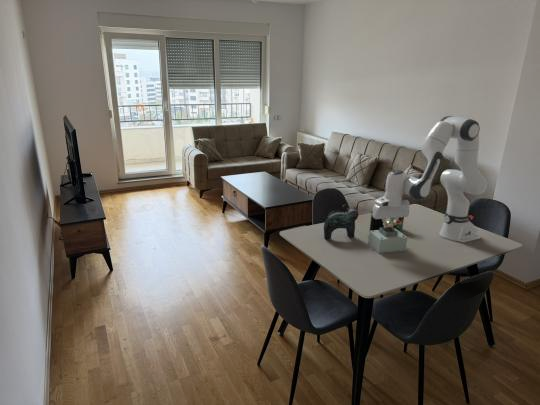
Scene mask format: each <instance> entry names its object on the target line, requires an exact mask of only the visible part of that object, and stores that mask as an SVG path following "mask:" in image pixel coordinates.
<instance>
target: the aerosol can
mask: <svg viewBox="0 0 540 405" xmlns="http://www.w3.org/2000/svg"><path fill="white" fill-rule="evenodd" d="M372 212H373V210H371V211H370V213H371V215H370V216H371V217H370V224H369V231H372V230H379V228H382V227H385V226H384V225H383V221H382V219H375V218H374V217H373V216H372ZM367 238H369V235H368V237H367Z"/></svg>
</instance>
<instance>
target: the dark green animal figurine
mask: <svg viewBox="0 0 540 405" xmlns="http://www.w3.org/2000/svg"><path fill="white" fill-rule="evenodd" d="M344 207H346V208H345V209H346V211H340V210H334V211H331V212H330V213H329V214H328V215H327V217H326V220H325V221H324V224H323V236H324V239H325V240H326V241H327V240H331V239H332V235H333V233H334V232H335V230H338V229H345V230H346V236H347V237H348V238H350V239H351V238H355V233H356V232H355V230H356V220H358V218H359V212H358V210H357V208H356V206H353V208H349V205H348V204H343V205H342V208H344Z"/></svg>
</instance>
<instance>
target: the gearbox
mask: <svg viewBox="0 0 540 405" xmlns="http://www.w3.org/2000/svg"><path fill="white" fill-rule="evenodd" d="M368 236H369V238H368V237H367V238H368V240H367V245H368V246H370V247H371V248H372V249H373V250H374V251H376V253H377V254H387V253H398V252H406V249H407V243H408V236H406V235H405V234H403V233H402V231H400V232H399V231H398V230H397V229H393V228H387V227H386V226H384V227H382V228H379V230H372V231H370V230H369V231H368Z"/></svg>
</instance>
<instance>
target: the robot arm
mask: <svg viewBox="0 0 540 405" xmlns="http://www.w3.org/2000/svg"><path fill="white" fill-rule="evenodd" d="M480 131H481V130H480V124H479V122H478V121H477V120H475V119H473V118H472V119H471V118H467V117H462V116H452V115H447V116H444V117H442V118H441V119H440V120H439V121H437V122H436V123H435V124H434V125H433V126H432V127H431V129H430V130H429V132H427V133H426V135H425V137H424V139H423V140H422V142H421V145H420V149H421V151H420V152H421V153H422V155H423V156H424V158H426V159H427V166H426V168H425V170H424V171H423V174H422V176H421V177H420V178H417V177H415V176H412V175H410V174H407V173H405V172H404V170H402V169H393V170H390V171H389V172H388V174H387V177H386V180H385V193H384V195H383V196H380V197H378V198H376V199H375V200H374V203H375V204H374V205H373V206H372V211H373V212H372V211H371V212H372V213H371V214H372V216H373V217H374V218H375V219H382V221H383V225H384V227H386V226H387V219H390V218H395V219H394V221H392V222H393V225H396V222H397V221H398V219H399V217H404V218H408V217H409V215H410V201H409V200H408V199H403V195H404V194H405V195H407V196H409V197H411V198H413V199H414V200H416V201H421V200H424V199H426V198H427V197H428V196H429V195H430V193H431V190H432V185H433V183H434V181H435V179H436V177H437V174H438V172H439V170H440V169H441V166H442V163H443V161H444V156H443V155H444V154H443V153H444V151H445V148H446V146H447V145H448V144H449V142H450V140H451V139H452V138H453V139H456V145H455V153H454V163H455V164H456V165H457V166H458V167H459V168H460V170H459V169H450V168H449V169H445V170H443V171H442V173H441V175H440V183H441V186H443V187H444V189H445V191H446V194H447V206H446V211H445V214H444V220H443V224H442V226H441V229H440V231H439V235H440V236H441V237H442V238H444V239H447V240H450V241H455V242H459V243H467V242H471V241H476V240H480V239H481V235H480V234H478V233H477V227H476V225H475V224H473V223H472V222H471V221H470V220H473V219H474V216H473V215H469V209H470V200H469V199H468V198H467V197H466V196H465V193H466V194H469V195H482V194H483V193H485V192H486V190H487V188H488V181H487V178H485V176H483V174H482V172H481V170H480V168H479V163H478V162H479V158H478V156H479V146H480Z"/></svg>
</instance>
